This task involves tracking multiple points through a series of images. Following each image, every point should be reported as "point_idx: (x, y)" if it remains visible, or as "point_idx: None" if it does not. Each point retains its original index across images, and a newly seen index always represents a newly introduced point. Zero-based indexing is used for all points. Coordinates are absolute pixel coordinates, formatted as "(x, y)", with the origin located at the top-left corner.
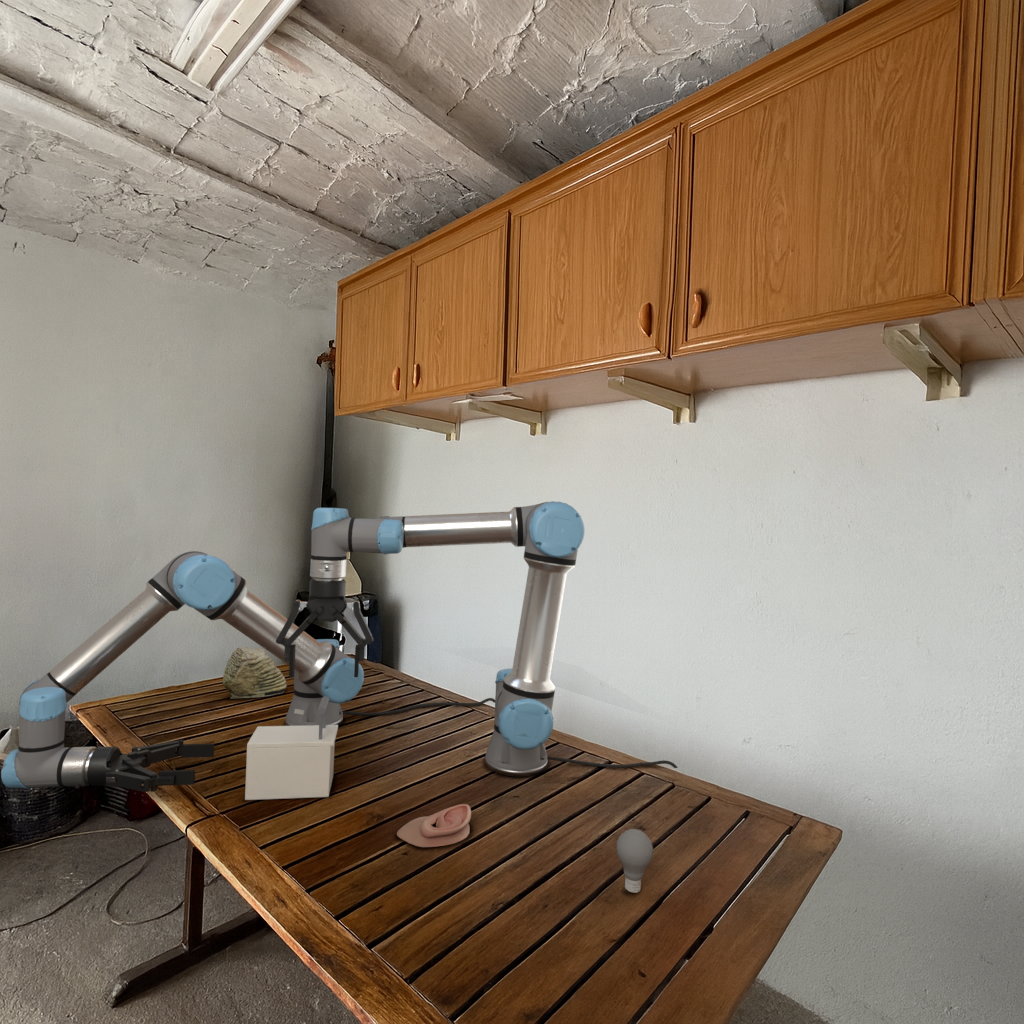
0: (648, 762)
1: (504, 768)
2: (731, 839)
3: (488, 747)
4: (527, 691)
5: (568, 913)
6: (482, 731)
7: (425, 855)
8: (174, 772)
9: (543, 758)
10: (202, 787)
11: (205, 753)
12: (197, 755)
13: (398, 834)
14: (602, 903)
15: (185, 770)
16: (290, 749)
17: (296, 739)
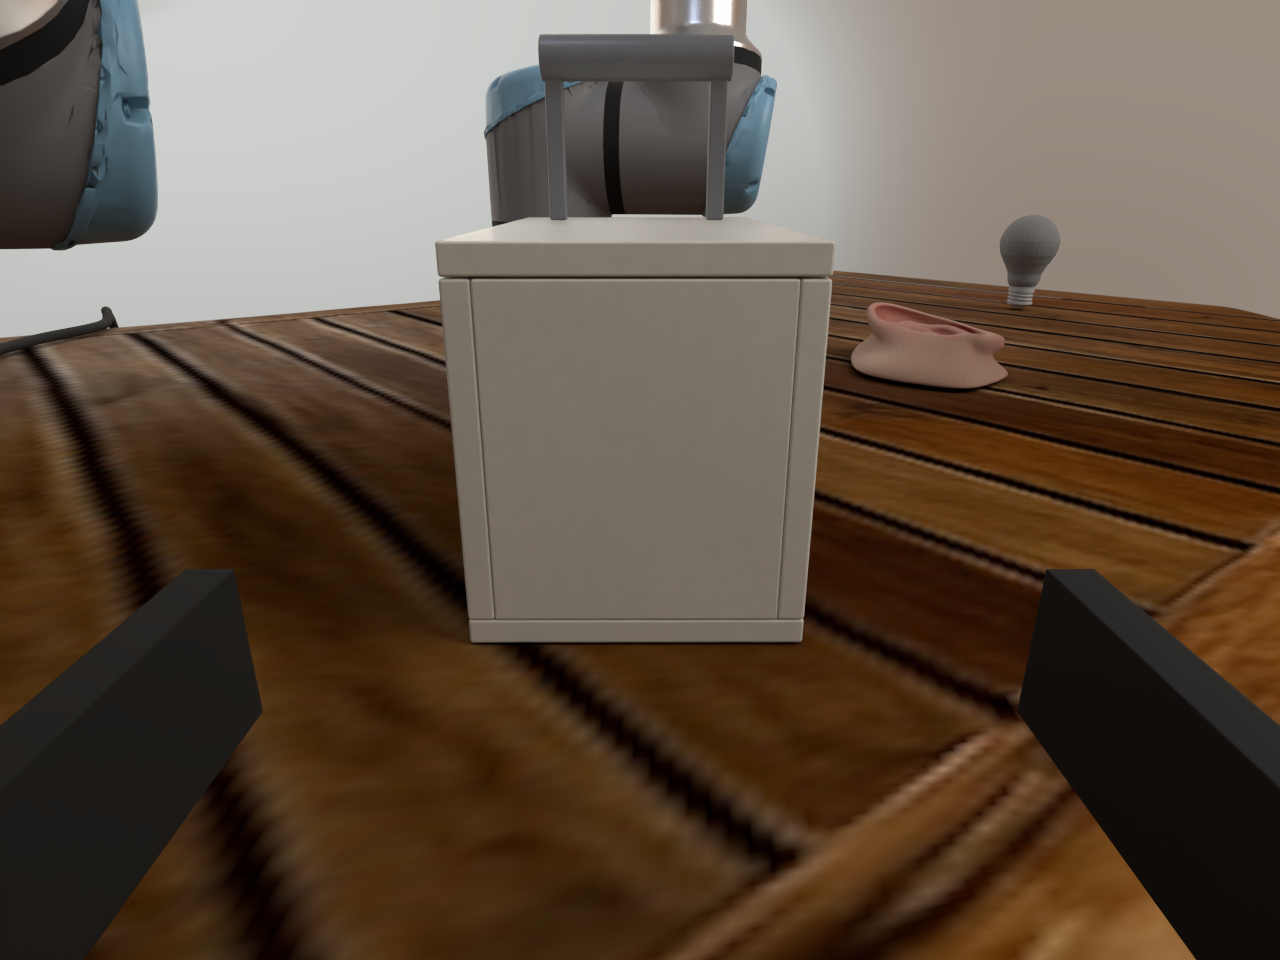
0: None
1: None
2: (842, 283)
3: None
4: (760, 58)
5: (1115, 327)
6: (320, 333)
7: (1031, 376)
8: (1258, 724)
9: None
10: (538, 949)
11: (209, 729)
12: (142, 840)
13: (972, 382)
14: (1065, 317)
15: (1125, 627)
16: None
17: (725, 224)
